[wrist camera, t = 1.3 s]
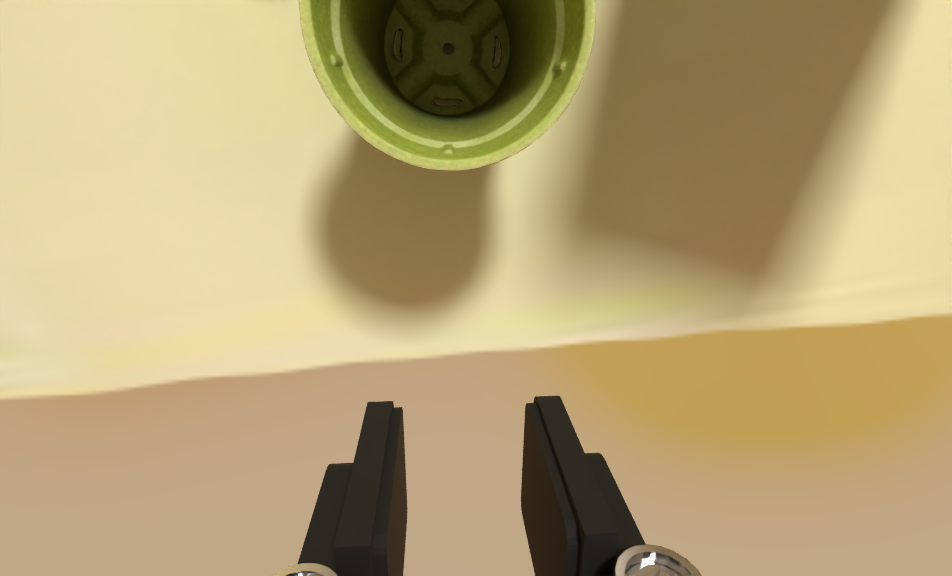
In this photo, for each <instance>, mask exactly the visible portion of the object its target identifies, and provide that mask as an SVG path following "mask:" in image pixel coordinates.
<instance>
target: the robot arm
mask: <svg viewBox="0 0 952 576" xmlns="http://www.w3.org/2000/svg"><path fill="white" fill-rule="evenodd" d="M403 427H404V426H403V410H402V407H399V408H394V405H393V401H384V402H368V403H367V407H366V412H365V416H364V420H363V424H362V429H361V433H360V437H359V441H358V446H357V451H356V454H355V459H354V463H341V464H329V465H328V467H327V470H326V473H325V476H324V479H323V482H322V486H321V489H320V492H319V495H318V499H317V502H316V505H315V509H314V512H313V515H312V518H311V522H310V525H309V529H308V532H307V535H306V538H305V542H304V545H303V548H302V551H301V555H300V558H299V561H298V564H297V565H293V566H289V567H287V568H285V569H282V570H280V571H278V572H276V573H274V574H273V575H272V576H403V568H404V554H405V539H406V524H407V495H406V494H407V493H406V471H405V449H404V428H403ZM523 448H524V449H523V468H522V489H521V507H522V515H523V520H524V525H525V529H526V534H527V539H528V544H529V548H530V553H531V557H532V562H533V567H534V572H535V576H702V575H701V574H700V572H699V571H698V569H696V567H695V566H694V565H692V564H691V563H690V562H689V561H688V560H687V559H686V558H684V557H683V556H681V555H679V554H678V553H676V552H674V551H672V550H670V549H667V548H664V547H661V546H656V545H648V544H645V542H644V540H643V538H642V536H641V534H640V532H639V530H638V528H637V526H636V524H635V521H634V519H633V517H632V515H631V513H630V511H629V509H628V507H627V505H626V503H625V501H624V499H623V496H622V494H621V492H620V490H619V488H618V486H617V484H616V482H615V480H614V478H613V476H612V474H611V472H610V469H609V467H608V465H607V463H606V461H605V459H604V458H603V456H602V455H601V454H600V453H584V451H583V448H582V446H581V444H580V442H579V439H578V437H577V434H576V432H575V430H574V428H573V425H572V423H571V421H570V418H569V416H568V414H567V411H566V409H565V407H564V404H563V403H562V400H561V398H560V396H539V397H535V398H534V403H527V404H526V407H525V426H524V447H523Z"/></svg>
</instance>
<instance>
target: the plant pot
mask: <svg viewBox="0 0 952 576" xmlns="http://www.w3.org/2000/svg"><path fill="white" fill-rule="evenodd" d="M299 11H300V21H301V28H302V34H303V38H304V42H305V47H306V50H307V54H308V57H309V60H310V62H311V65H312V67H313V70H314V72H315V74H316V77H317V79H318V81H319V83H320V85H321V87H322V89H323V91H324V92H325V94H326V96H327V98H328V99H329V101H330V102H331V104H332V105H333V106H334V108H335V109H336V110H337V112H338V113H339V114H340V116H341V117H342V118H343V119H344V120H345V121H346V122H347V124H348V125H349V126H350V127H351V128H352V129H353V130H354V131H355V132H356V133H357V134H358V135H359V136H361V137H362V138H363V139H364V140H365V141H367V142H368V143H369V144H371V145H372V146H373V147H375V148H376V149H378V150H379V151H381V152H383V153H385V154H387V155H389V156H391V157H393V158H395V159H397V160H399V161H402V162H405V163H407V164H410V165H413V166H418V167H422V168H427V169H433V170H442V171H461V170H470V169H476V168H480V167H484V166H488V165H491V164H494V163H497V162H499V161H502V160H504V159H506V158H509V157H511V156H512V155H514V154H516V153H518V152H520V151H521V150H523V149H525V148H526V147H528V146H529V145H530V144H532V143H533V142H534V141H536V140H537V139H538V138H539V137H540V136H541V135H542V134H544V133H545V132H546V131H547V130H548V129H549V128H550V127H551V126H552V125H553V124H554V123H555V121H556V120H557V119H558V118H559V117H560V116H561V114H562V113H563V112H564V110H565V109H566V108H567V106H568V105H569V103H570V101H571V100H572V98H573V96H574V94H575V92H576V90H577V88H578V86H579V84H580V82H581V80H582V77H583V75H584V72H585V69H586V66H587V63H588V60H589V56H590V53H591V48H592V44H593V38H594V31H595V13H596V1H595V0H299ZM398 29H401V30H402V32H403V35H402V42H401V53H402V60H401V61H400V62H399V61H397V60H396V58H395V56H394V53H393V49H394V36H395V33H396V31H397V30H398ZM495 37H497V38H498V40H499V41H500V46H501V60H500V64H499V65H498V67H497V68H493V67H492V62H493V56H494V44H495ZM445 43H448V44H449V43H450V44H452V45H453V47H454V51H453V52H452V53H451V54H446V53H444V52H443V46H444V44H445ZM435 97H436V98H441V99H452V100H453V99H460V103H459V104H458V105H457V106H439V105H436V104H435V103H434V102H433V98H435Z"/></svg>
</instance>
